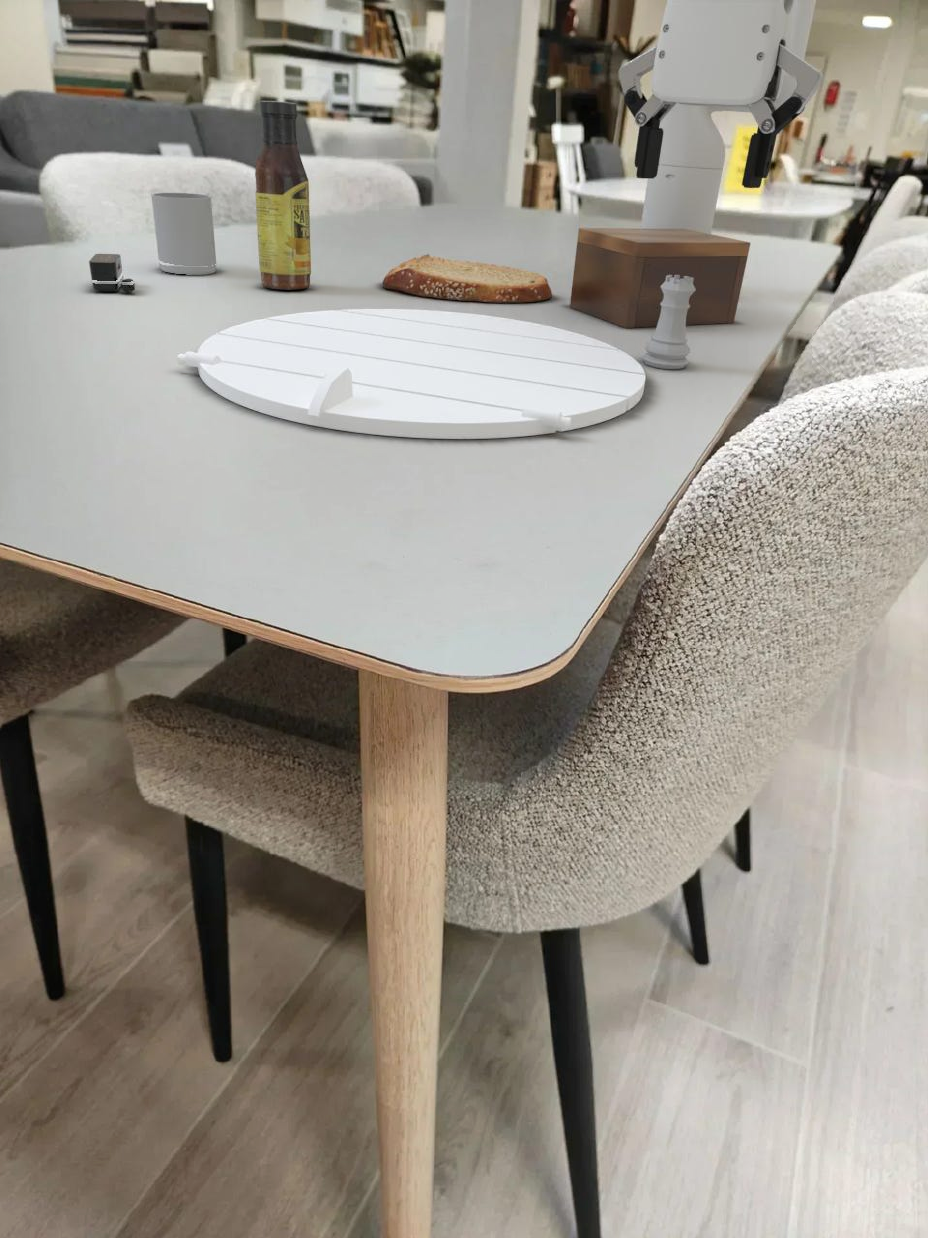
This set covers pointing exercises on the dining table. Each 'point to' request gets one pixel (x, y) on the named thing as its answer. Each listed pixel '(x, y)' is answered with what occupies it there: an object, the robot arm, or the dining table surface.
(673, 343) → the rook chess piece
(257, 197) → the sauce bottle
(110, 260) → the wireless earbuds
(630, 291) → the wooden box
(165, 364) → the dining table surface
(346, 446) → the dining table surface
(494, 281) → the slice of bread
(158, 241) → the cup
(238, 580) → the dining table surface
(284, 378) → the lazy susan
